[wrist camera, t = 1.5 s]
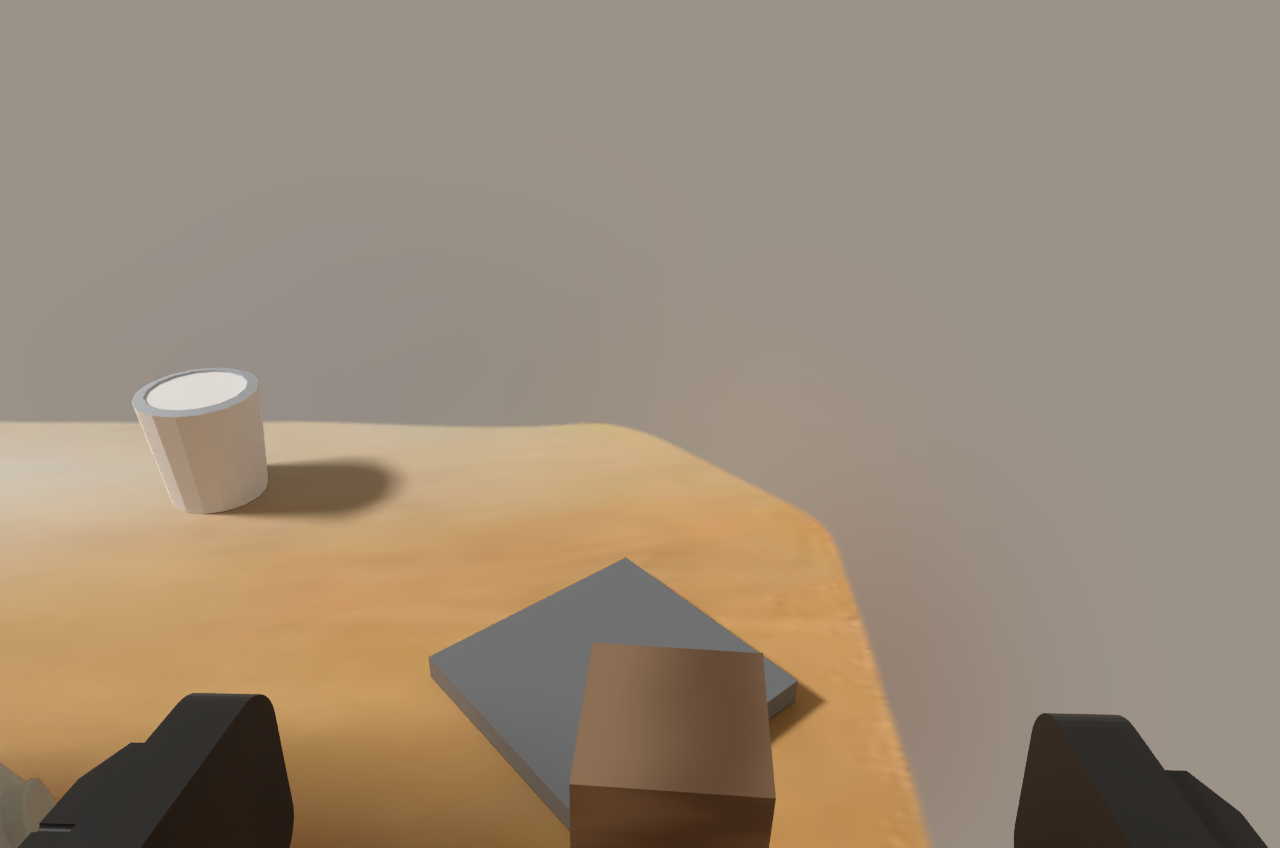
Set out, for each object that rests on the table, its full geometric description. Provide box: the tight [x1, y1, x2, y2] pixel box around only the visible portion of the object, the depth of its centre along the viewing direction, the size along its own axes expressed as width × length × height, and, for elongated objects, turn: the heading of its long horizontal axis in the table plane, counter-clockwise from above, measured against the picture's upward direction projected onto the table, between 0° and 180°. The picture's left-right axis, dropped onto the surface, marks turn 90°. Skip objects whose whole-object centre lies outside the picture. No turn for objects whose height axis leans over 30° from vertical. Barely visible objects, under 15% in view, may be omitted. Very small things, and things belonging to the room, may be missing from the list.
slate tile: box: [429, 558, 798, 830], centre depth 40 cm, size 12×12×1 cm
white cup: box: [132, 368, 268, 514], centre depth 53 cm, size 7×7×7 cm
